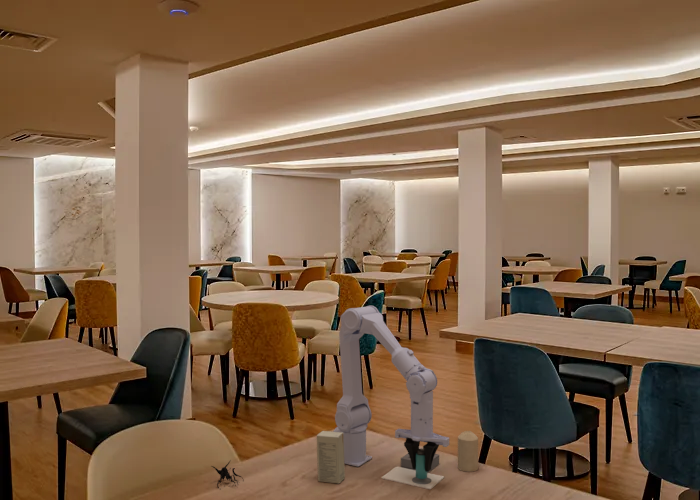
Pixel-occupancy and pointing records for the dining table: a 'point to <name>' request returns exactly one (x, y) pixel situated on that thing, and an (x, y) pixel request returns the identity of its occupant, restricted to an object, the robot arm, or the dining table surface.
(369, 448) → the dining table surface
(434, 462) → the button housing
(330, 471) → the skincare box
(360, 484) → the dining table surface
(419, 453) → the bottle
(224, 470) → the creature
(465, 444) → the candle
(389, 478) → the paper
